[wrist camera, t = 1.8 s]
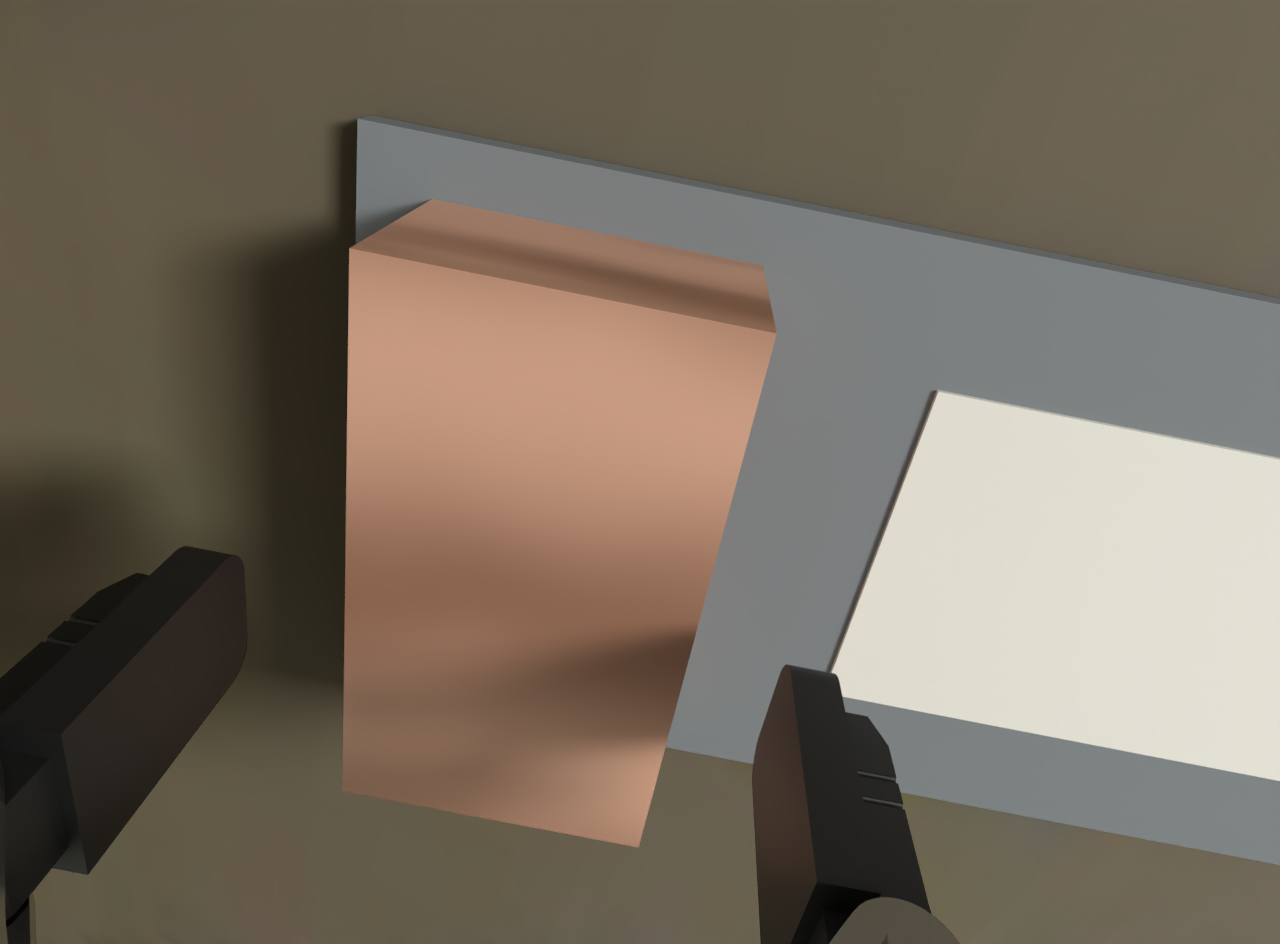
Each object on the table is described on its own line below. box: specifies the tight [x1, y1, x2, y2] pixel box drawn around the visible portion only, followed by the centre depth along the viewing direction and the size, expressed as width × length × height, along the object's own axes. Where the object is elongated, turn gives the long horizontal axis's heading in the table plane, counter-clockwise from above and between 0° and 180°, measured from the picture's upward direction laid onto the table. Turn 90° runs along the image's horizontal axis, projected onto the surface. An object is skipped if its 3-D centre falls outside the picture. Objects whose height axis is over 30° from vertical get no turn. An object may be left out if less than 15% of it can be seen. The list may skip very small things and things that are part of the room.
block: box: [343, 199, 777, 847], centre depth 14 cm, size 10×6×4 cm, turn 170°
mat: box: [356, 115, 1280, 865], centre depth 16 cm, size 12×22×1 cm, turn 80°
